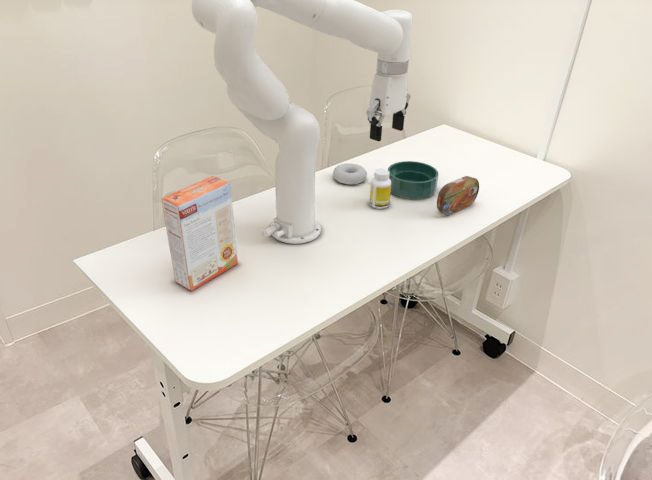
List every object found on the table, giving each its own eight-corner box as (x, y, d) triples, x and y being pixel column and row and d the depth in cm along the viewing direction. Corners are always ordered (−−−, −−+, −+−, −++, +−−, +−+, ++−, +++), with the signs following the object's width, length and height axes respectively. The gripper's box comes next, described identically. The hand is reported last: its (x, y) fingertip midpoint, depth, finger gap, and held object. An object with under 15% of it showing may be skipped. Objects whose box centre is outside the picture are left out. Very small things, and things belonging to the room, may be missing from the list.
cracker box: (220, 255, 137) (213, 173, 125) (238, 265, 134) (232, 182, 122) (172, 281, 128) (159, 196, 116) (190, 292, 125) (179, 206, 113)
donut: (332, 186, 169) (367, 186, 169) (332, 175, 167) (367, 175, 167) (333, 171, 177) (366, 172, 177) (333, 161, 175) (366, 161, 175)
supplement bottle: (393, 205, 160) (396, 172, 154) (380, 211, 157) (383, 178, 151) (378, 198, 163) (381, 165, 157) (365, 204, 160) (367, 171, 154)
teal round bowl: (427, 204, 160) (429, 186, 157) (378, 193, 165) (380, 175, 162) (441, 184, 171) (444, 167, 168) (396, 174, 176) (397, 157, 173)
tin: (441, 219, 154) (445, 190, 149) (432, 214, 156) (436, 186, 151) (477, 203, 162) (482, 175, 157) (468, 198, 164) (473, 171, 159)
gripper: (399, 56, 147) (393, 122, 157) (357, 70, 136) (354, 140, 146) (425, 62, 144) (417, 129, 153) (384, 77, 133) (378, 148, 142)
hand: (386, 134), depth 150 cm, fingers open, 9 cm apart
